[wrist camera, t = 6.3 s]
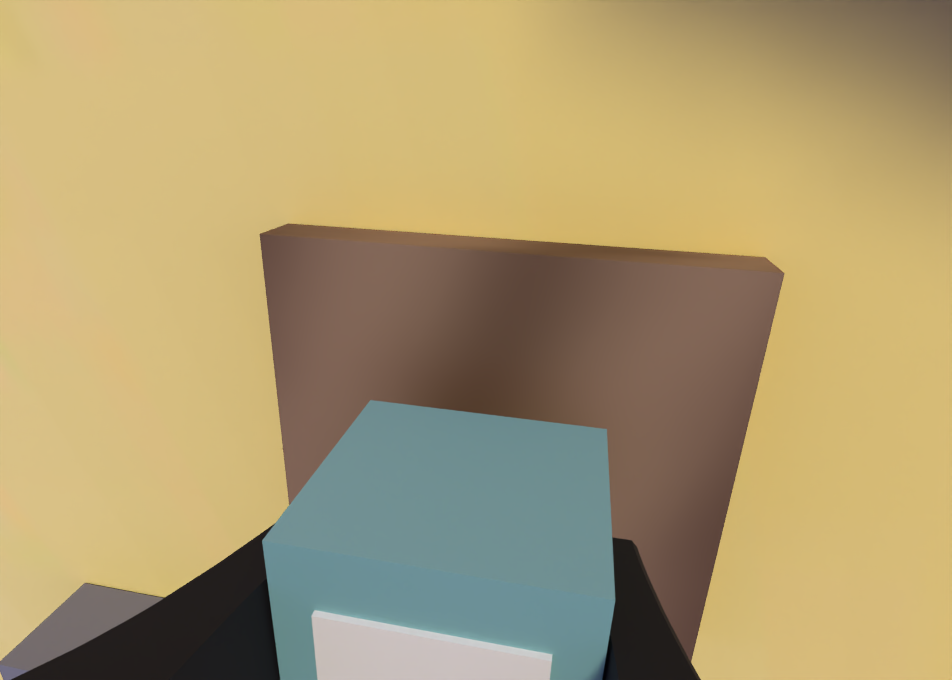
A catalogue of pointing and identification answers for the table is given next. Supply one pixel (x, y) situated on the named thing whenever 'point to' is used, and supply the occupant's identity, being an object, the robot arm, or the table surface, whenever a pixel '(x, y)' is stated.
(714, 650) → the table surface
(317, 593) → the labelled block
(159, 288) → the table surface
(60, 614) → the bin
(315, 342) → the pad
